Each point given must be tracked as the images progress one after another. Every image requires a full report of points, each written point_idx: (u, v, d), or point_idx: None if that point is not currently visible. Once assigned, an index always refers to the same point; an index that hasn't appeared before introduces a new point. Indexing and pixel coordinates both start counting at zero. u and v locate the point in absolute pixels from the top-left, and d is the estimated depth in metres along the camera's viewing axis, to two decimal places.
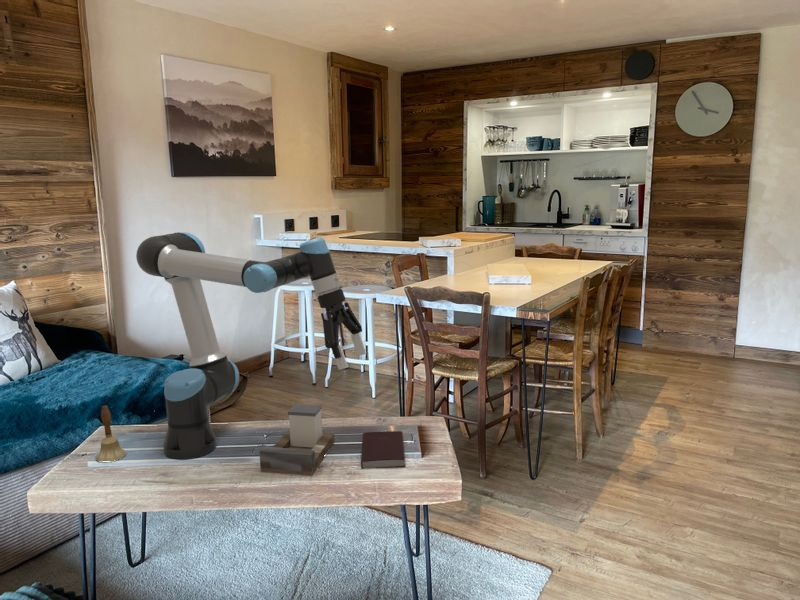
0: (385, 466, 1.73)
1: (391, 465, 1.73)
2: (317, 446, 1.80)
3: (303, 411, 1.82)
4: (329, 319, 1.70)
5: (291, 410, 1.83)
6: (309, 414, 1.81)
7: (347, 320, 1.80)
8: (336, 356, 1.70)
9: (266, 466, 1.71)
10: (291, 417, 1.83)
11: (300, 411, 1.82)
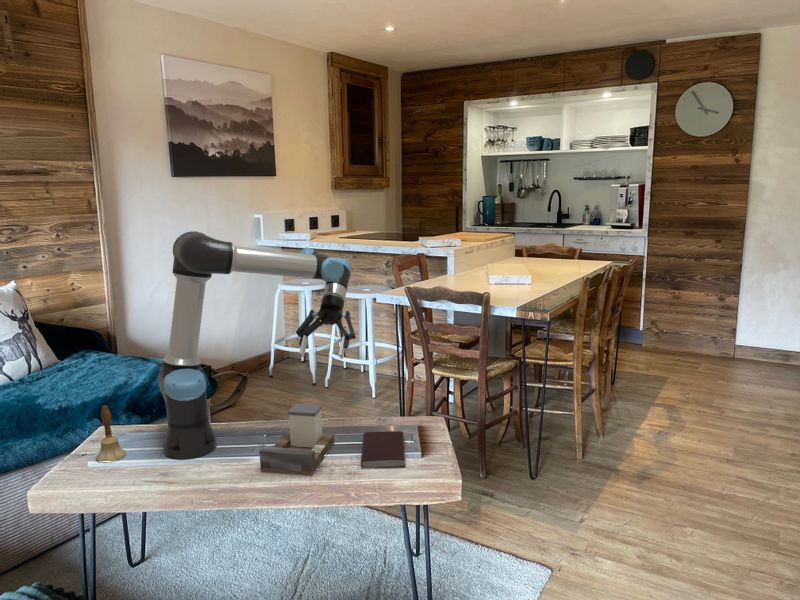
0: (385, 466, 1.73)
1: (391, 465, 1.73)
2: (317, 446, 1.80)
3: (303, 411, 1.82)
4: None
5: (291, 410, 1.83)
6: (309, 414, 1.81)
7: (319, 325, 2.05)
8: (347, 345, 1.98)
9: (266, 466, 1.71)
10: (291, 417, 1.83)
11: (300, 411, 1.82)
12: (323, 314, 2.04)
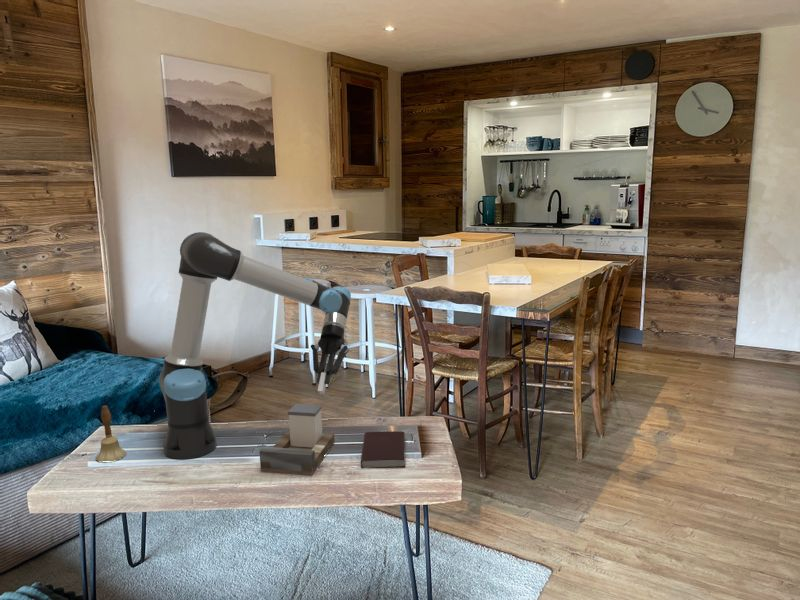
0: (385, 466, 1.73)
1: (391, 465, 1.73)
2: (317, 446, 1.80)
3: (303, 411, 1.82)
4: (344, 354, 2.04)
5: (291, 410, 1.83)
6: (309, 414, 1.81)
7: (326, 356, 2.05)
8: (328, 381, 1.99)
9: (266, 466, 1.71)
10: (291, 417, 1.83)
11: (300, 411, 1.82)
12: (325, 344, 2.04)
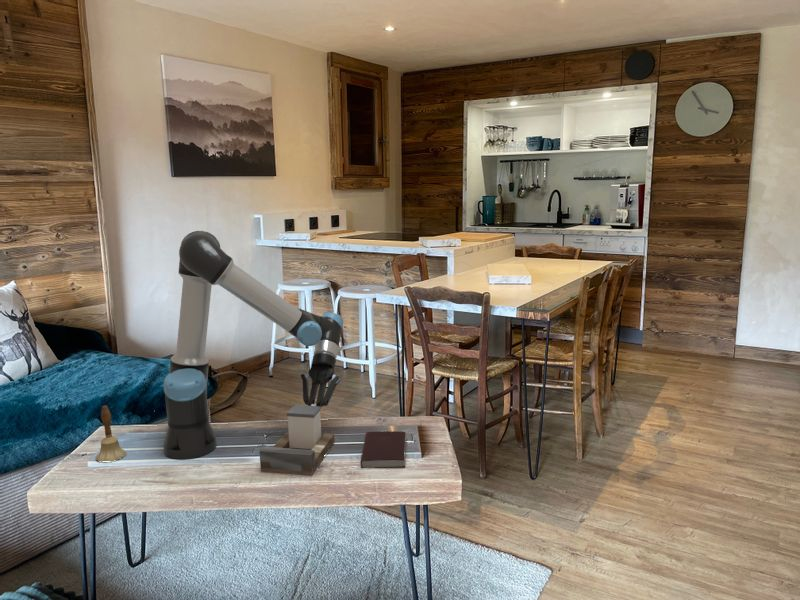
0: (385, 466, 1.73)
1: (391, 465, 1.73)
2: (317, 446, 1.80)
3: (302, 412, 1.81)
4: None
5: (290, 411, 1.82)
6: (308, 415, 1.80)
7: (317, 387, 1.97)
8: None
9: (266, 466, 1.71)
10: (289, 419, 1.82)
11: (299, 412, 1.81)
12: (315, 374, 1.96)
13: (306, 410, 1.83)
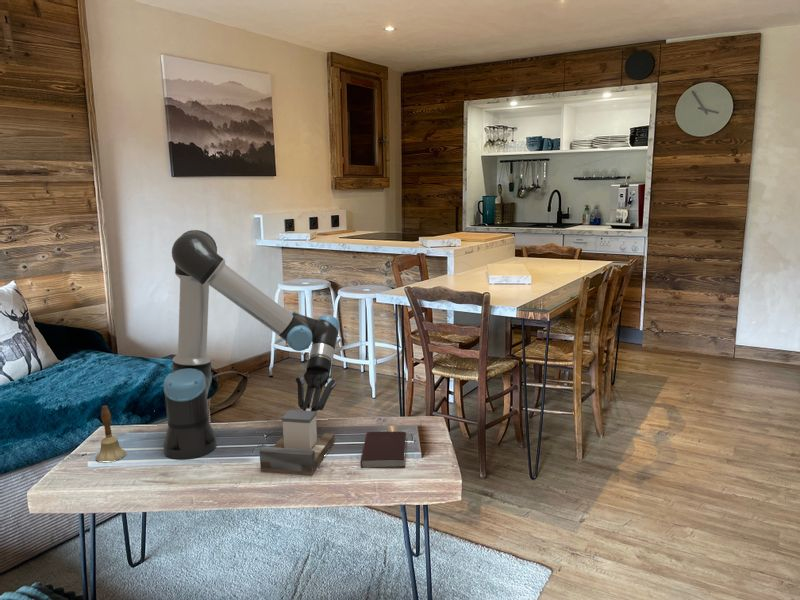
0: (384, 466, 1.73)
1: (390, 465, 1.73)
2: (317, 446, 1.80)
3: (298, 417, 1.77)
4: (331, 389, 1.93)
5: (285, 416, 1.78)
6: (303, 421, 1.76)
7: (312, 391, 1.93)
8: None
9: (266, 466, 1.71)
10: (284, 424, 1.78)
11: (294, 418, 1.77)
12: (311, 377, 1.93)
13: (301, 415, 1.79)
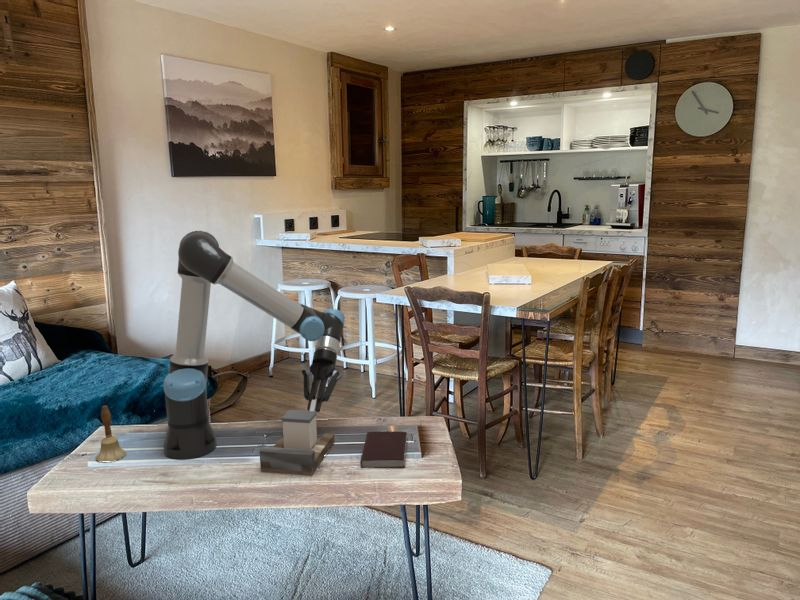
0: (384, 466, 1.73)
1: (390, 465, 1.73)
2: (317, 446, 1.80)
3: (298, 417, 1.77)
4: (336, 381, 1.97)
5: (285, 416, 1.78)
6: (303, 421, 1.76)
7: (318, 382, 1.97)
8: (319, 409, 1.91)
9: (266, 466, 1.71)
10: (284, 424, 1.78)
11: (294, 418, 1.77)
12: (316, 369, 1.97)
13: (301, 415, 1.79)
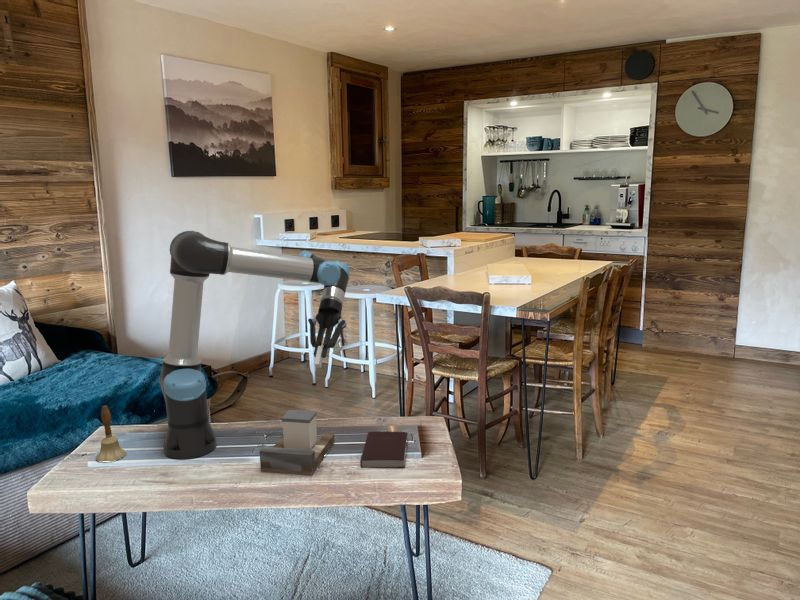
0: (384, 466, 1.73)
1: (390, 465, 1.73)
2: (317, 446, 1.80)
3: (298, 417, 1.77)
4: (342, 329, 2.02)
5: (285, 416, 1.78)
6: (303, 421, 1.76)
7: (324, 331, 2.03)
8: (325, 355, 1.96)
9: (266, 466, 1.71)
10: (284, 424, 1.78)
11: (294, 418, 1.77)
12: (322, 318, 2.02)
13: (301, 415, 1.79)
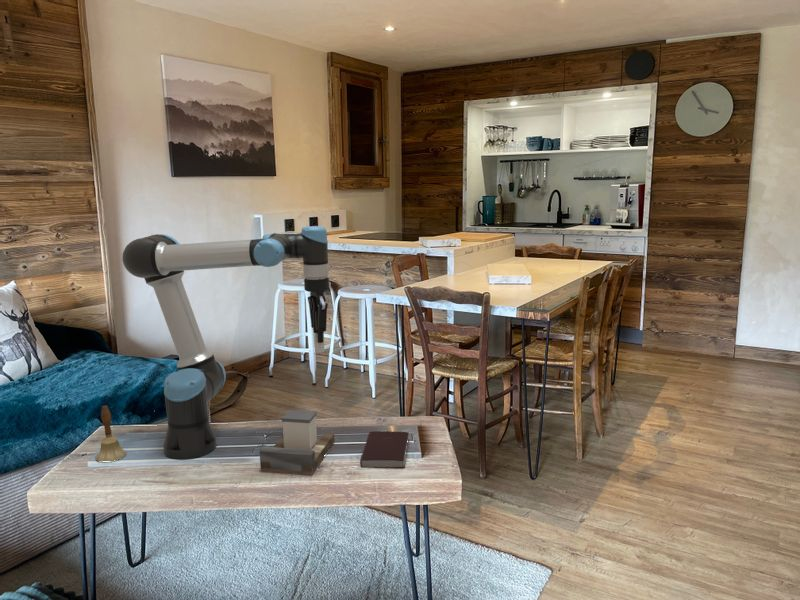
0: (384, 466, 1.73)
1: (390, 465, 1.73)
2: (317, 446, 1.80)
3: (298, 417, 1.77)
4: (326, 310, 1.86)
5: (285, 416, 1.78)
6: (303, 421, 1.76)
7: None
8: (321, 341, 1.90)
9: (266, 466, 1.71)
10: (284, 424, 1.78)
11: (294, 418, 1.77)
12: (310, 300, 1.90)
13: (301, 415, 1.79)
